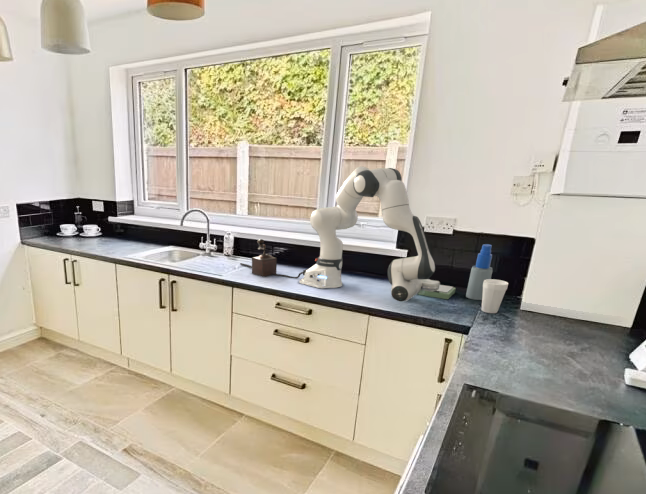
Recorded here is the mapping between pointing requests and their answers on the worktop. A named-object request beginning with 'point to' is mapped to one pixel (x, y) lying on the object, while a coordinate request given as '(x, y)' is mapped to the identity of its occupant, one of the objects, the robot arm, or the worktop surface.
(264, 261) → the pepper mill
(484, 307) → the foam cup
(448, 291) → the scale
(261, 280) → the worktop surface
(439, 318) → the worktop surface
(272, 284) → the worktop surface
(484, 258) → the spray bottle
